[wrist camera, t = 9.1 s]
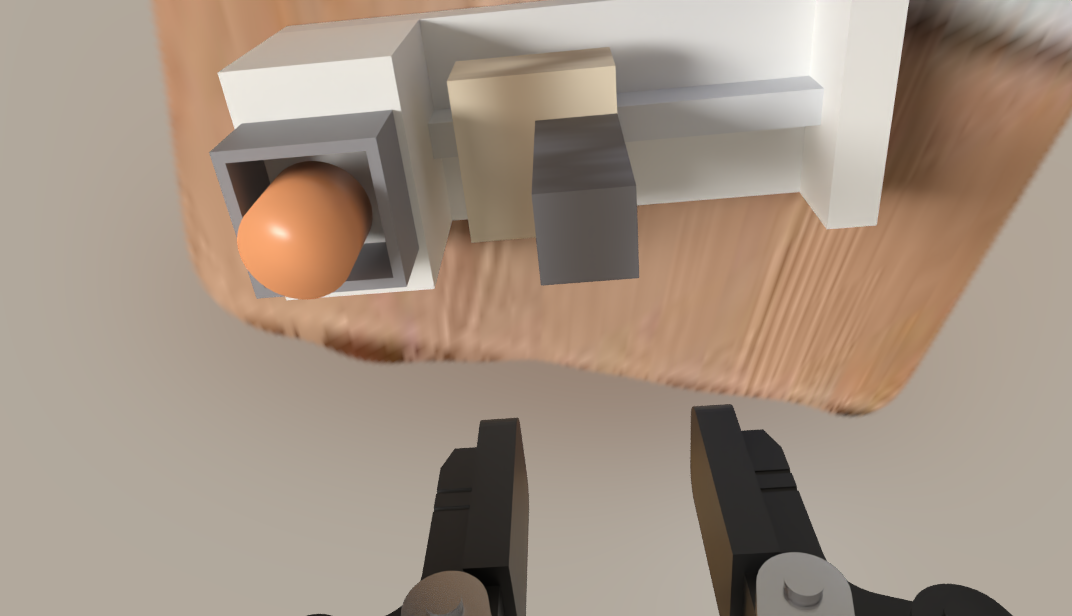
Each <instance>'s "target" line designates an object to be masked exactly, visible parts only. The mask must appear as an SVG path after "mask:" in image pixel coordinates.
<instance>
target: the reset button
mask: <svg viewBox="0 0 1072 616" xmlns="http://www.w3.org/2000/svg"><path fill="white" fill-rule="evenodd" d="M372 219H373V217H372V206H371V203H370V200H369V197H368V195H367V193H366V192H365V190H364V188H363V187H362V186H361V184H360V183H359V182H358V181H357V180H356V179H355V178H354V177H353V176H352V175H350V174H349V173H348V172H346V171H345V170H343V169H341V168H339V167H337V166H335V165H332V164H329V163H325V162H320V161H305V162H300V163H296V164H293V165H291V166H289V167H287V168H286V169H284V170H283V171H282V172H281V173H279V174H278V176H277V177H276V178H275V179H274V180H273V182H272V183H271V184H270V185H269V186H268V188H267V189H266V190H265V191H264V192H263V194H262V195H261V196H260V197H259V198H258V200H257V201H256V202H255V203H254V204H253V206H252V207H251V208H250V209H249V210H248V212H247V213H246V214H245V215H244V217H243V219H242V220H241V223H240V225H239V229H238V234H237V243H238V249H239V253H240V256H241V259H242V261H243V263H244V265H245V266H246V268H247V269H248V271H249V272H250V273H251V275H252V276H253V277H254V278H255V279H256V280H257V281H258V282H260V283H261V284H262V285H264V286H265V287H266V288H268V289H270V290H271V291H273V292H275V293H278V294H280V295H283V296H286V297H289V298H294V299H316V298H320V297H324V296H326V295H329V294H331V293H332V292H334V291H336V290H337V289H338V288H339V287H341V286H342V285H343V283H344V282H345V281H346V280H347V278H348V277H349V274H350V272H351V270H352V268H353V266H354V264H355V262H356V260H357V257H358V255H359V253H360V251H361V249H362V247H363V245H364V242H365V240H366V238H367V236H368V234H369V232H370V229H371V226H372Z"/></svg>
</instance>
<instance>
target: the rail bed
mask: <svg viewBox="0 0 1072 616" xmlns="http://www.w3.org/2000/svg"><path fill="white" fill-rule="evenodd" d="M908 5H909V0H547V1H536V2H526V3H516V4H506V5H496V6H486V7H476V8H466V9H456V10H446V11H436V12H426V13H415V14H405V15H395V16H385V17H375V18H365V19H355V20H345V21H335V22H325V23H315V24H304V25H294V26H286V27H285V28H283V29H282V30H280V31H279V32H277V33H276V34H274V35H273V36H271V37H270V38H268V39H267V40H265V41H264V42H262V43H261V44H259V45H258V46H256V47H255V48H253V49H252V50H251V51H249V52H248V53H246V54H245V55H243V56H242V57H240V58H239V59H237V60H236V61H234V62H233V63H231V64H230V65H228V66H227V67H225V68H224V69H222V70H221V71H219V72H218V76H219V79H220V82H221V85H222V89H223V92H224V95H225V99H226V102H227V105H228V109H229V112H230V115H231V118H232V122H233V125H234V128H235V130H234V131H233V132H232V133H230V134H229V135H228V136H227V137H226V138H225V139H224V140H223V141H221V142H220V143H219V144H218V145H217V146H216V147H215V148H214V149H212V150H211V151H210V152H209V153H210V156H211V160H212V163H213V166H214V169H215V172H216V175H217V178H218V181H219V184H220V187H221V190H222V193H223V196H224V199H225V203H226V206H227V209H228V212H229V215H230V218H231V221H232V224H233V227H234V230H235V233H236V236H237V234H238V229H239V225H240V223H241V220H242V219H243V217H244V215H245V214H246V213H247V212H248V210H249V209H250V208H251V207H252V206H253V204H254V203H255V202H256V201H257V200H258V198H259V197H260V196H261V195H262V194H263V192H264V191H265V190H266V189H267V188H268V186H269V185H270V184H271V183H272V182H273V180H274V179H275V178H276V177H277V176H278V174H279V173H281V172H282V171H283V170H284V169H286V168H287V167H289V166H291V165H293V164H296V163H300V162H305V161H320V162H325V163H329V164H332V165H335V166H337V167H339V168H341V169H343V170H345V171H346V172H348V173H349V174H350V175H352V176H353V177H354V178H355V179H356V180H357V181H358V182H359V183H360V184H361V186H362V187H363V188H364V190H365V192H366V193H367V195H368V197H369V200H370V203H371V206H372V217H373V219H372V226H371V229H370V232H369V234H368V236H367V238H366V240H365V242H364V245H363V247H362V249H361V251H360V253H359V255H358V257H357V260H356V262H355V264H354V266H353V268H352V270H351V272H350V274H349V277H348V278H347V280H346V281H345V282H344V283H343V285H342V286H341V287H339V288H338V289H337V290H336V291H334V292H332V293H331V294H329V295H326V296H324V297H334V296H347V295H360V294H373V293H386V292H399V291H412V290H425V289H435V285H436V281H437V278H438V274H439V270H440V266H441V262H442V258H443V254H444V251H445V247H446V243H447V239H448V235H449V231H450V227H451V224H452V221H453V220H465V219H468V217H467V210H466V203H465V197H464V190H463V184H462V177H461V171H460V164H459V158H458V151H457V145H456V138H455V132H454V125H453V119H452V112H451V106H450V99H449V93H448V86H447V80H448V78H449V75H450V73H451V71H452V68H453V66H454V64H455V62H456V61H466V60H477V59H487V58H498V57H508V56H519V55H529V54H540V53H550V52H561V51H571V50H582V49H592V48H603V47H610V50H611V53H612V56H613V60H614V63H615V69H616V93H617V114H618V118H619V122H620V125H621V129H622V133H623V137H624V141H625V144H626V148H627V152H628V156H629V160H630V163H631V167H632V171H633V175H634V179H635V183H636V191H637V205H648V204H660V203H672V202H684V201H696V200H708V199H720V198H733V197H745V196H757V195H769V194H781V193H793V192H800V193H801V195H802V196H803V197H804V199H805V200H806V202H807V203H808V204H809V206H810V207H811V208H812V210H813V211H814V212H815V214H816V215H817V217H818V218H819V219H820V221H821V222H822V223H823V225H824V226H825V227H826V229H837V228H849V227H862V226H874V225H877V219H878V212H879V205H880V199H881V192H882V185H883V178H884V171H885V164H886V157H887V150H888V143H889V136H890V129H891V122H892V115H893V108H894V102H895V95H896V88H897V81H898V74H899V67H900V60H901V53H902V46H903V39H904V32H905V25H906V18H907V11H908ZM247 270H248V269H247ZM248 273H249V276H250V279H251V282H252V285H253V289H254V292H255V295H256V298H269V297H282V296H283V295H280V294H278V293H275V292H273V291H271V290H270V289H268V288H266V287H265V286H264V285H262V284H261V283H260V282H258V281H257V280H256V279H255V278H254V277H253V276H252V275H251V273H250V272H249V271H248ZM285 297H286V296H285ZM320 298H321V297H320ZM286 300H295V299H294V298H289V297H286Z"/></svg>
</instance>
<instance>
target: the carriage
mask: <svg viewBox="0 0 1072 616" xmlns="http://www.w3.org/2000/svg"><path fill="white" fill-rule="evenodd" d="M447 86H448V93H449V99H450V106H451V112H452V119H453V125H454V132H455V138H456V145H457V151H458V158H459V164H460V171H461V177H462V184H463V190H464V197H465V203H466V210H467V217H468V223H469V230H470V236H471V243H475V242H487V241H500V240H512V239H524V238H536V242H537V252H538V261H539V271H540V280H541V285H554V284H567V283H580V282H593V281H606V280H619V279H632V278H639V257H638V224H637V191H636V183H635V179H634V175H633V171H632V167H631V163H630V160H629V156H628V152H627V148H626V144H625V141H624V137H623V133H622V129H621V125H620V122H619V118H618V114H617V93H616V69H615V63H614V60H613V56H612V53H611V50H610V47H603V48H592V49H582V50H571V51H561V52H550V53H540V54H529V55H519V56H508V57H498V58H487V59H477V60H466V61H456V62H455V64H454V66H453V68H452V71H451V73H450V75H449V78H448V80H447Z"/></svg>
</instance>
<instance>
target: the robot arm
mask: <svg viewBox="0 0 1072 616" xmlns="http://www.w3.org/2000/svg"><path fill="white" fill-rule="evenodd" d="M690 463H691V464H690V468H691V484H692V492H693V498H694V503H695V507H696V512H697V516H698V521H699V525H700V530H701V534H702V539H703V543H704V547H705V552H706V557H707V561H708V566H709V570H710V575H711V579H712V583H713V588H714V592H715V597H716V601H717V606H718V610H719V615H720V616H1012V615H1011V614H1010V613H1009V612H1008V611H1007V610H1006V609H1005V608H1003V607H1002V606H1001V605H1000V604H999V603H997V602H996V601H995V600H993V599H992V598H990V597H989V596H987V595H985V594H983V593H981V592H979V591H977V590H975V589H972V588H969V587H965V586H961V585H955V584H938V585H933V586H930V587H927V588H926V589H924V590H922V591H921V592H920V593H919V594H918V595H917V596H916V597H915V599H914V600H913V601H908V600H904V599H899V598H894V597H890V596H885V595H881V594H877V593H873V592H869V591H867V590H864V589H861V588H859V587H857V586H855V585H853V584H851V583H850V582H848V581H847V580H846V578H845V577H844V576H843V574H842V573H841V572H840V571H839V570H838V569H837V568H836V567H834V566H833V565H832V564H831V563H829V562H827V560H826V558H825V557H824V554H823V552H822V550H821V547H820V545H819V542H818V539H817V537H816V534H815V532H814V529H813V527H812V524H811V522H810V519H809V516H808V514H807V511H806V509H805V506H804V504H803V501H802V499H801V496H800V493H799V491H797V486H796V483H795V480H794V478H793V475H792V473H790V468H789V465H788V463H787V460H786V457H785V455H784V452H783V450H782V448H781V446H779V445H778V444H777V443H776V442H775V441H774V440H773V439H772V438H771V437H770V436H769V435H768V434H767V433H766V432H765V431H764V430H747V431H741V429H740V426H739V423H738V420H737V417H736V414H735V411H734V408H733V406H732V405H731V404H725V405H710V406H695V407H692V409H691V460H690ZM528 523H529V493H528V480H527V472H526V465H525V457H524V450H523V443H522V435H521V428H520V422H519V418H508V419H492V420H481V421H480V427H479V434H478V442H477V447H475V448H460V449H454V451H453V452H452V453H451V455H450V456H449V458H448V459H447V460H446V462H445V463H444V465H443V466H442V467H441V470H440V475H439V481H438V487H437V494H436V498H435V504H434V512H433V516H432V522H431V528H430V533H429V539H428V545H427V550H426V556H425V562H424V567H423V573H422V577H421V581H420V582H419V583H417V584H416V585H415V586H414V587H413V588H412V589H411V590H410V592H409V593H408V595H407V596H406V598H405V600H404V602H403V605H402V606H401V607H400V608H398V609H397V610H396V611H394V612H392V613H390V614H388V615H386V616H526V591H527V590H526V589H527V557H528ZM308 616H331V615H326V614H313V615H308Z"/></svg>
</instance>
